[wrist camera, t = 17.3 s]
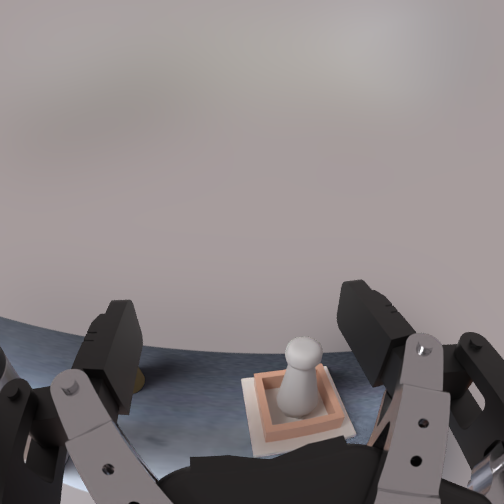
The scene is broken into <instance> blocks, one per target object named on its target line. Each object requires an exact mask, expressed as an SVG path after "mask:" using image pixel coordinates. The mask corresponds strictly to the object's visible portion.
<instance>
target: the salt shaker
mask: <svg viewBox="0 0 504 504" xmlns="http://www.w3.org/2000/svg"><path fill="white" fill-rule="evenodd" d="M322 353H323V351H322V347H321V344H320V343H319V342H318V341H316V340H315V339H313V338H310V337H298V338H295V339H293V340H292V341H290V342H289V343H288V346H287V348H286V351H285V357H286V360H287V363H288V366H287V369H286V372H285V375H284V378H283V381H282V383H281V386H280V389H279V392H278V394H277V397H276V398H277V404H278V407H279V408H280V409H281V411H282V412H283V413H284V414H285V416H287V417H291V418H296V419H300V418H301V417H303V416H305V415H307V414H310V413H311V412H312V411H313V410H314V409H315V408H316V407H317V404H318V399H319V397H318V387H317V377H316V368H315V367H316V366H317V365H318V364H319V363H320V361H321V358H322Z"/></svg>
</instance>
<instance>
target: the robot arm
mask: <svg viewBox="0 0 504 504" xmlns="http://www.w3.org/2000/svg"><path fill="white" fill-rule="evenodd" d="M337 323H338V327H339V329H340V331H341V333H342V334H343V336H344V338H345V340H346V341H347V343H348V345H349V346H350V348H351V350H352V352H353V353H354V355H355V357H356V359H357V361H358V362H359V364H360V366H361V368H362V369H363V371H364V373H365V375H366V377H367V378H368V380H369V382H370V384H371V386H372V387H377V386H380V385H383V384H384V386H385V387H386V390H385V392H384V394H383V398H382V402H381V405H380V409H379V413H378V416H377V419H376V423H375V426H374V429H373V432H372V435H371V437H370V439H369V441H368V443H367V445H362V444H347V443H346V440H345V438H344V435H342V436H338V437H334V438H330V439H326V440H322V441H318V442H314V443H309V444H306V445H304V446H302V447H300V448H297V449H295V450H293V451H290V452H288V453H286V454H283V455H281V456H278V457H276V458H273V459H259V458H248V457H239V456H231V455H225V456H207V457H190V466H189V467H185V468H182V469H179V470H176V471H174V472H172V473H170V474H168V475H166V476H165V477H163V478H161V479H160V480H159V479H158V478H157V477H156V476H155V475H154V473H153V472H152V471H151V470H150V469H149V467H148V466H147V465H146V464H145V462H144V461H143V460H142V458H141V457H140V456H139V454H138V453H137V452H136V450H135V449H134V448H133V446H132V445H131V443H130V442H129V440H128V439H127V437H126V436H125V434H124V433H123V431H122V430H121V428H120V427H119V425H118V424H117V418H118V414H120V415H129V412H130V406H131V401H132V395H133V390H134V385H135V379H136V374H137V370H138V365H139V360H140V356H141V351H142V346H143V339H142V333H141V329H140V326H139V323H138V319H137V316H136V312H135V309H134V305H133V303H132V301H131V300H114V301H111V302H110V305H109V306H108V309H107V311H106V313H105V314H100V315H99V316H98V317H97V318H96V319H95V320H94V321H93V322H92V323H91V325H90V327H89V329H88V331H87V334H86V336H85V338H84V342H82V345H81V347H80V349H79V351H78V354H77V356H76V358H75V361H74V363H73V366H72V368H71V369H69V370H66V371H63V372H61V373H60V374H58V375H57V376H56V377H55V378H54V380H53V381H52V383H51V386H48V387H42V388H36V389H32V388H31V386H30V385H29V383H28V382H27V381H26V380H24V379H21V378H20V377H19V375H18V374H17V372H16V371H15V369H14V368H13V366H12V365H11V363H10V362H9V360H8V358H7V357H6V355H5V354H4V352H3V350H2V348H1V347H0V504H60V501H61V490H62V482H63V474H64V467H65V463H66V462H67V460H68V457H69V455H70V457H71V459H72V461H73V463H74V465H75V467H76V469H77V471H78V473H79V475H80V477H81V479H82V481H83V482H84V484H85V486H86V488H87V490H88V491H89V493H90V495H91V496H92V498H93V500H94V501H95V503H96V504H504V360H503V359H502V358H501V356H500V355H499V354H498V353H497V351H496V350H495V349H494V348H493V347H492V345H491V344H490V343H489V342H488V341H487V340H486V339H485V338H484V337H483V336H481V335H480V334H477V333H474V332H467V333H464V334H463V335H462V336H461V337H460V340H459V342H458V344H453V345H442V344H441V343H440V342H439V341H438V340H437V339H436V338H435V337H433V336H432V335H429V334H425V333H416V331H415V330H414V329H413V328H412V327H411V326H410V324H409V323H408V322H407V321H406V320H405V318H403V316H402V315H401V314H400V313H399V312H398V311H397V309H396V308H395V307H394V306H392V304H391V302H390V301H389V300H388V299H387V298H386V297H385V296H384V295H382V294H380V293H379V292H377V291H375V290H371V289H370V287H369V286H368V285H367V284H366V283H365V282H364V281H363V280H354V281H346V282H343V284H342V287H341V293H340V299H339V305H338V312H337ZM472 382H474V383H475V385H476V386H477V388H478V389H479V391H480V392H481V394H482V395H483V397H484V399H485V408H484V410H483V411H482V410H481V408H480V407H479V405H478V404H477V402H476V401H475V399H474V397H473V396H472V394H471V393H470V391H469V390H468V388H469V386H470V385H471V383H472ZM448 427H450V429H451V431H452V432H453V435H454V436H455V438H456V440H457V442H458V444H459V446H460V448H461V450H462V452H463V454H464V456H465V458H466V460H467V462H468V464H469V466H470V468H471V470H472V473H471V480H470V481H469V482H468V485H467V487H468V488H465V487H462V486H459V485H457V484H454V483H452V482H449V481H447V480H445V479H442V478H441V476H442V471H443V465H444V459H445V452H446V445H447V437H448Z"/></svg>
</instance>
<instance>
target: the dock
mask: <svg viewBox="0 0 504 504" xmlns="http://www.w3.org/2000/svg"><path fill="white" fill-rule="evenodd" d="M315 368H316V377H317V387H318V397H319V399H318V404H317V407H316V408H315V409H314V410H313V411H312V412H311V413H310V414H307V415H305V416H303V417H301V418H300V419H296V418H291V417H287V416H285V414H284V413H283V412H282V411H281V409H280V408H279V407H278V404H277V398H276V397H277V394H278V392H279V389H280V386H281V383H282V381H283V378H284V375H285V372H286V370H280V371H272V372H265V373H257V374H254V377H253V378H243V379H241V382H242V388H243V395H244V401H245V408H246V414H247V420H248V426H249V432H250V439H251V444H252V450H253V456H254V458H256V457H264V456H271V455H277V454H283V453H288V452H290V451H293V450H295V449H297V448H300V447H302V446H304V445H306V444H309V443H314V442H318V441H322V440H326V439H330V438H334V437H338V436H342V435H344V438H345V439H349V438H352V437H355V436H356V432H355V430H354V427H353V425H352V423H351V421H350V418H349V416H348V414H347V411H346V409H345V407H344V405H343V402H342V400H341V398H340V396H339V393H338V391H337V389H336V387H335V384H334V382H333V380H332V378H331V376H330V373H329V371H328V369H327V367H326V366H324V367H323V365H322V364H318V365H317V366H316V367H315Z"/></svg>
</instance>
